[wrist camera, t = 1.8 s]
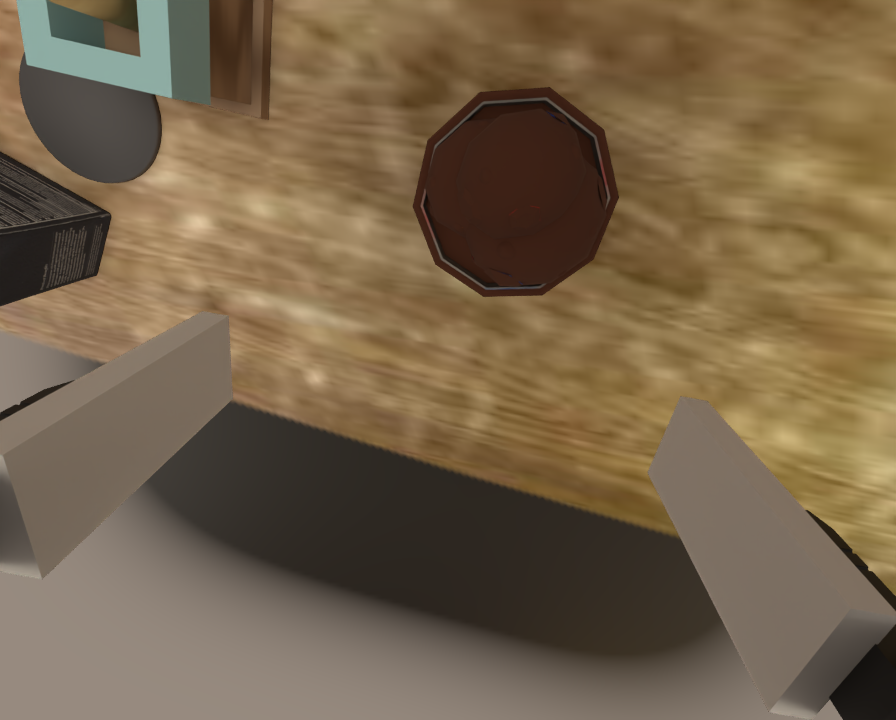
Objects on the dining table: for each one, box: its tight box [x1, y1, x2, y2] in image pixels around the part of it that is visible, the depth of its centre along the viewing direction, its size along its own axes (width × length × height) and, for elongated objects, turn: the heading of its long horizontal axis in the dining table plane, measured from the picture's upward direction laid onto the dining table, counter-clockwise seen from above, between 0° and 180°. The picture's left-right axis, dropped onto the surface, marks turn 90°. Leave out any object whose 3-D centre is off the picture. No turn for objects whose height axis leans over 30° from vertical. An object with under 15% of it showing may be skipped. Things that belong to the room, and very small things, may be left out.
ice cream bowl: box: [413, 87, 619, 297], centre depth 26 cm, size 11×11×15 cm
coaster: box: [19, 52, 161, 183], centre depth 33 cm, size 10×10×1 cm
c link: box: [17, 0, 211, 105], centre depth 23 cm, size 8×8×4 cm
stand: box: [49, 0, 272, 120], centre depth 25 cm, size 8×8×12 cm
